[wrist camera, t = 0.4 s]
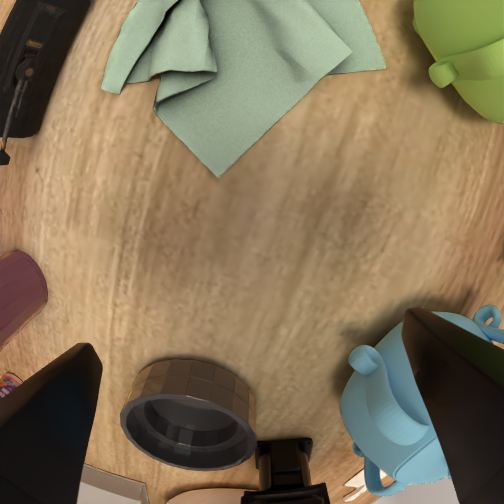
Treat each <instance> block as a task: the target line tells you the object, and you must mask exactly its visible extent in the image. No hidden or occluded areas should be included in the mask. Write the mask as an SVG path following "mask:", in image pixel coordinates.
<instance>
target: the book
mask: <svg viewBox="0 0 504 504" xmlns="http://www.w3.org/2000/svg"><path fill="white" fill-rule="evenodd" d="M77 504H149V500H148V495H147V490H146V485H145V483H142V482H138V481H135V480H131V479H128V478H125V477H121V476H118V475H115V474H112V473H109V472H106V471H103V470H100V469H98V468H95V467H92V466H90V465H87V464H84V466H83V471H82V477H81V482H80V488H79V494H78V501H77Z"/></svg>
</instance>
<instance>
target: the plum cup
mask: <svg viewBox="0 0 504 504" xmlns="http://www.w3.org/2000/svg"><path fill="white" fill-rule="evenodd" d="M46 302H47V286H46V282H45V279H44V276H43V274H42V272H41V270H40V268H39V267H38V265H37V264H36V262H35V261H34V260H33V259H32V258H31V257H30V256H29V255H28V254H26V253H24V252H22V251H19V250H12V251H9V252H7V253H5V254H3V255H1V256H0V351H1V350H2V349H3V348H4V347H5V346H6V345H7V344H8V343H9V342H10V341H11V340H12V339H13V338H14V337H15V336H16V335H17V334H18V333H19V332H20V331H21V330H22V329H23V328H24V327H25V326H26V325H27V324H28V323H29V322H30V321H31V320H32V319H33V318H34V317H35V316H36V315H37V314H39V313H40V312H41V310H42V309H43V308H44V306H45V305H46Z"/></svg>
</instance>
